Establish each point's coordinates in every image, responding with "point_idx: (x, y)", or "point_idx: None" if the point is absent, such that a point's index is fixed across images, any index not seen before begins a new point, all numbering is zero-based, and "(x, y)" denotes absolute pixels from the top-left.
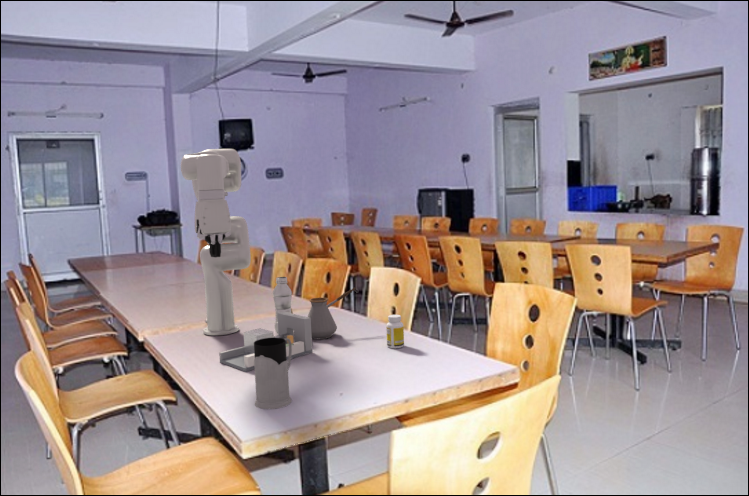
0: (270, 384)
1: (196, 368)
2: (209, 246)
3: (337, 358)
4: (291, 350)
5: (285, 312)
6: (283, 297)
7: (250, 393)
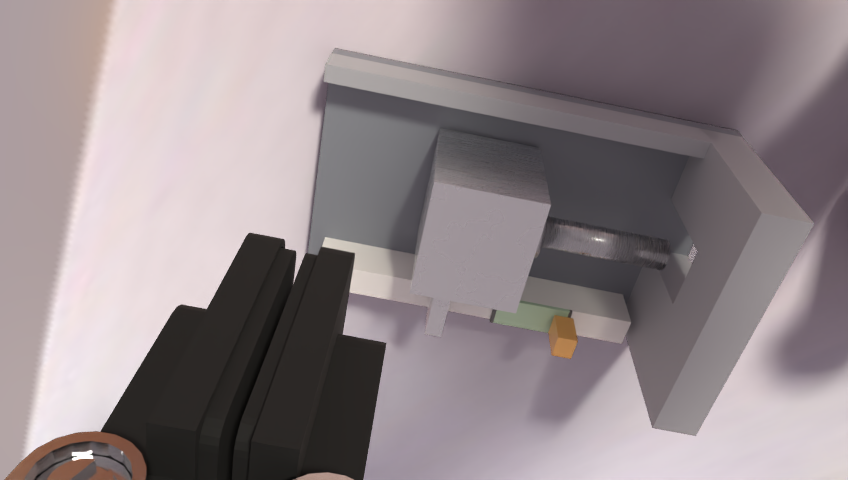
0: None
1: (205, 16)
2: (112, 424)
3: (615, 425)
4: None
5: (794, 247)
6: None
7: None
